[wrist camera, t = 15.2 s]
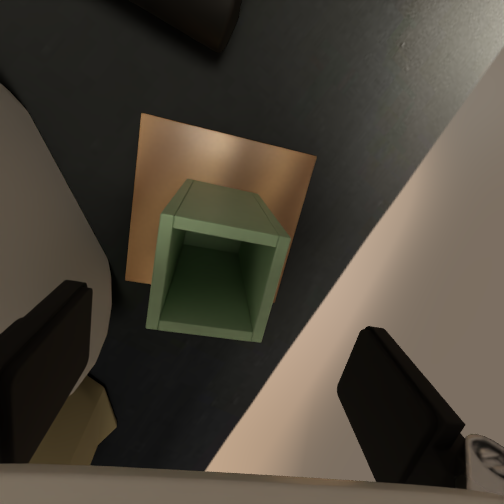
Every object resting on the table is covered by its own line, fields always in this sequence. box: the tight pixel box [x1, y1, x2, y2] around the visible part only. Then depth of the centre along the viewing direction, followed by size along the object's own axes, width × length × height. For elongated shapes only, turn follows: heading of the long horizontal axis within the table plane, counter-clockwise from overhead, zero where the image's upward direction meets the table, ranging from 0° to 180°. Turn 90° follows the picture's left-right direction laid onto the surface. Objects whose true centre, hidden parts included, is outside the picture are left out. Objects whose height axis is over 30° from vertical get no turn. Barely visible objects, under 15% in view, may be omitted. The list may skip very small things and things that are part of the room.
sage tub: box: [146, 179, 291, 342], centre depth 20 cm, size 6×6×12 cm
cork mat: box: [125, 113, 317, 303], centre depth 26 cm, size 14×14×1 cm
